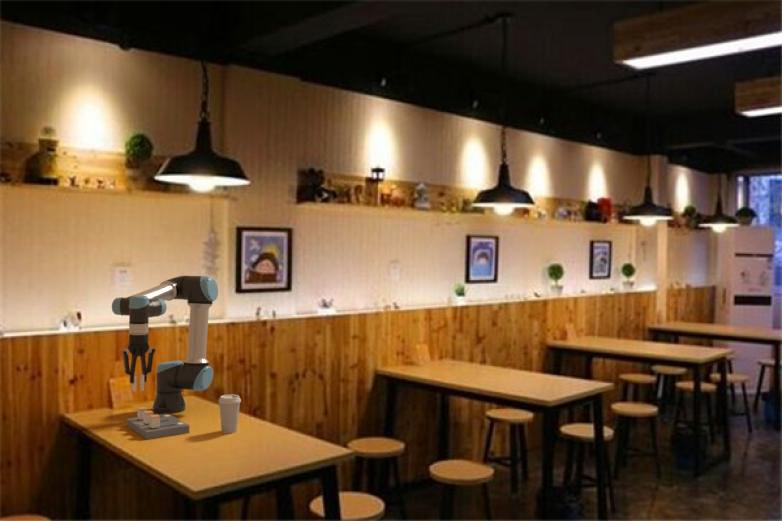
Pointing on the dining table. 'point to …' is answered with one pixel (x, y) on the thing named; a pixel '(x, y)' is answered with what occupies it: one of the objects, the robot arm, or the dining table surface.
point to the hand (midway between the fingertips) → (138, 390)
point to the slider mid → (147, 416)
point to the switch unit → (167, 427)
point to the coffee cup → (229, 412)
